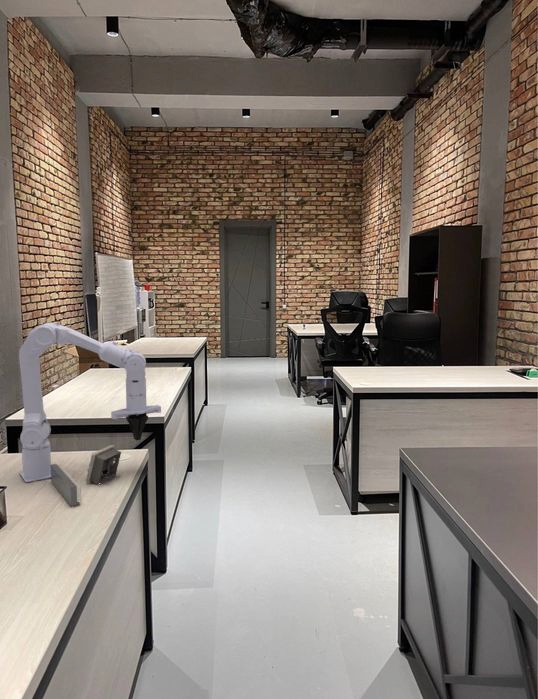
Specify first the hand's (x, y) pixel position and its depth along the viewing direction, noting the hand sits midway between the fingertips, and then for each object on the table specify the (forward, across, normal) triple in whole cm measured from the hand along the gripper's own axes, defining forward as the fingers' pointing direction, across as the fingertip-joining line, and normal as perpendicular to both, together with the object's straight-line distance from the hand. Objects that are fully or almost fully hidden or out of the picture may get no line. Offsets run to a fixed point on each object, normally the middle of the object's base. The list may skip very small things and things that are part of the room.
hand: (137, 439), depth 157 cm
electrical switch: (+10, -10, -1) cm, 14 cm away
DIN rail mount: (+9, -23, -5) cm, 25 cm away
